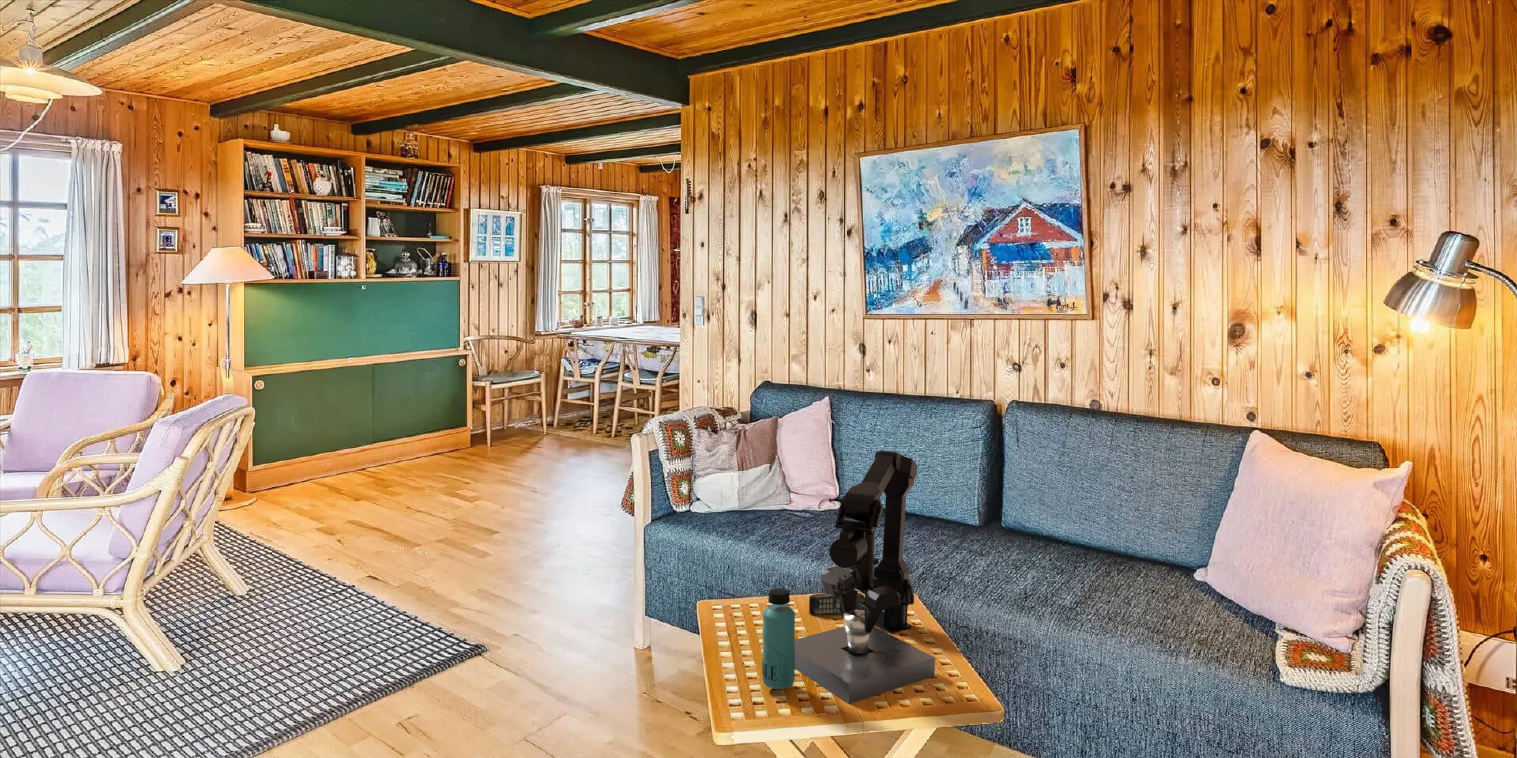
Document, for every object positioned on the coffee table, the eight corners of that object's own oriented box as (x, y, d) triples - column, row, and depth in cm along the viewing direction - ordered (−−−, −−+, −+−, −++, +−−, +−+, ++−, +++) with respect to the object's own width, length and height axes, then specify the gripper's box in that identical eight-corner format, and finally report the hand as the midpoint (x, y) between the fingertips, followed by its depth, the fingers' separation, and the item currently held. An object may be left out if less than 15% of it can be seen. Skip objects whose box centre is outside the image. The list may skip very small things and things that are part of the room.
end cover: (859, 640, 184) (860, 607, 183) (878, 650, 179) (879, 616, 178) (837, 646, 181) (837, 612, 180) (855, 657, 176) (856, 622, 175)
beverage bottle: (799, 684, 173) (800, 586, 171) (789, 699, 167) (790, 598, 165) (767, 679, 175) (768, 582, 173) (756, 694, 169) (757, 593, 167)
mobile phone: (810, 597, 208) (871, 593, 209) (807, 592, 211) (868, 589, 212) (810, 617, 208) (871, 613, 210) (808, 612, 211) (868, 609, 213)
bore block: (864, 638, 196) (864, 621, 195) (934, 676, 177) (935, 657, 177) (782, 660, 184) (783, 642, 183) (849, 704, 165) (849, 684, 165)
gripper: (800, 547, 181) (799, 620, 183) (858, 573, 165) (856, 652, 167) (843, 539, 187) (841, 609, 189) (902, 563, 171) (900, 640, 173)
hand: (858, 627), depth 179 cm, fingers closed on end cover, 6 cm apart
